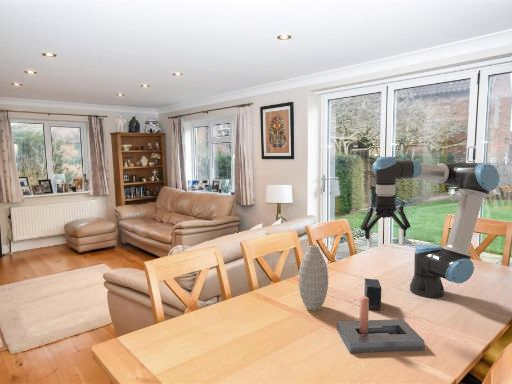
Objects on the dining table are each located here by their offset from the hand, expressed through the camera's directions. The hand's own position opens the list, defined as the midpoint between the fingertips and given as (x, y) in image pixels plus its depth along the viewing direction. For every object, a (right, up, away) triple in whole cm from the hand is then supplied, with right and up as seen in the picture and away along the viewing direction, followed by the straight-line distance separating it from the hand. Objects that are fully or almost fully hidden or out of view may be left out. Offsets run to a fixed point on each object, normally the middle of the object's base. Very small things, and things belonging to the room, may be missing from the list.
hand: (385, 245), depth 146 cm
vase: (-28, -29, +10) cm, 42 cm away
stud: (-14, -32, -17) cm, 39 cm away
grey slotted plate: (-9, -32, -17) cm, 37 cm away
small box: (-1, -29, +13) cm, 31 cm away
